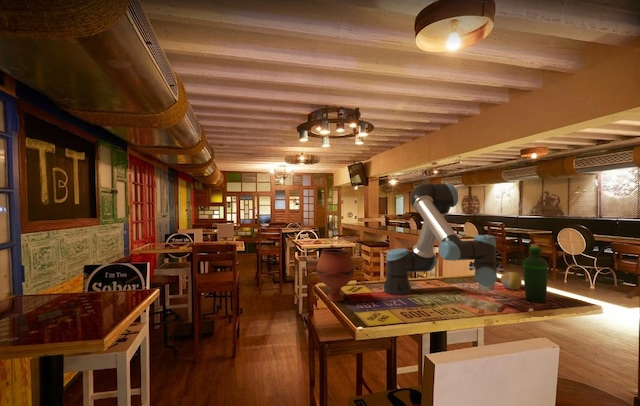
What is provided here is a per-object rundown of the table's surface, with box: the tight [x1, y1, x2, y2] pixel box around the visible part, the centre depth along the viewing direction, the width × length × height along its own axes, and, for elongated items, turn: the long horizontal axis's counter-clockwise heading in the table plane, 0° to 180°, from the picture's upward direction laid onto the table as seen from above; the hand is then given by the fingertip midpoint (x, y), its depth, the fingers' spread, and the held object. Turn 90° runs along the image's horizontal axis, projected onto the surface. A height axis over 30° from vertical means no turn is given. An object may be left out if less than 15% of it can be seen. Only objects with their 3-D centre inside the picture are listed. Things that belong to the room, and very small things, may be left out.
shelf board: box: [459, 296, 504, 313], centre depth 148 cm, size 16×9×4 cm, turn 44°
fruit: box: [500, 271, 523, 291], centre depth 179 cm, size 10×11×10 cm
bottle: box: [522, 243, 549, 304], centre depth 157 cm, size 11×11×28 cm
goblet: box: [316, 248, 355, 302], centre depth 160 cm, size 19×19×25 cm
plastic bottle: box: [478, 283, 495, 292], centre depth 149 cm, size 6×7×20 cm
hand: (485, 262), depth 153 cm, fingers closed on plastic bottle, 6 cm apart
